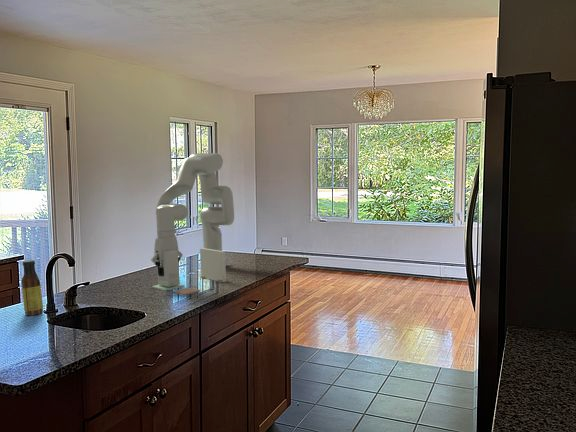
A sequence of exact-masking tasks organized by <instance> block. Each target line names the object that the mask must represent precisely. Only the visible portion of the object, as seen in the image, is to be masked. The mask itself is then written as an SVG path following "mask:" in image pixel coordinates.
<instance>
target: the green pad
mask: <svg viewBox="0 0 576 432" xmlns="http://www.w3.org/2000/svg"><path fill="white" fill-rule="evenodd" d="M151 287H152V288H153V289H156V290H162V291H164V292H165V291H171V290H174V289H178V288H185V284H183V283H182V284H181V283H180V284H179V285H175V286H170V287H167V286H163V285H158V284H156V285H152V286H151Z"/></svg>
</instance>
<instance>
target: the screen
mask: <svg viewBox="0 0 576 432" xmlns="http://www.w3.org/2000/svg"><path fill="white" fill-rule="evenodd" d="M199 255H200V257H199V259H200V279H201V278H202V279H203V280H205V279H207V280H210V281H214V282H215V281H216V282H217V283H227V281H228V280H227V279H228V278H227V272H226V271H227V270H226V269H227V267H226V266H227V265H226V262H225V258H226V251H224V250H222V251H219V250H212V249H206V248H203V247H201V248H199Z"/></svg>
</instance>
